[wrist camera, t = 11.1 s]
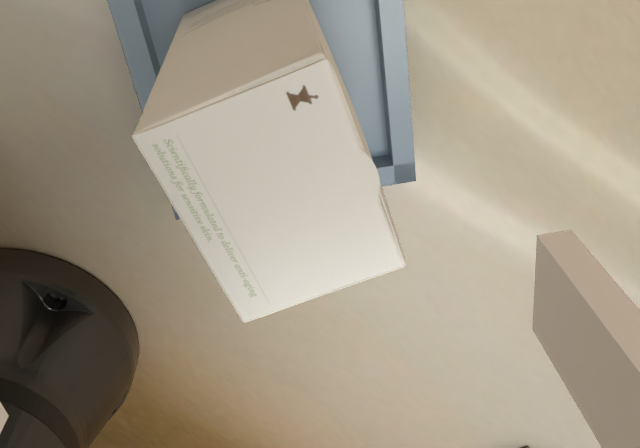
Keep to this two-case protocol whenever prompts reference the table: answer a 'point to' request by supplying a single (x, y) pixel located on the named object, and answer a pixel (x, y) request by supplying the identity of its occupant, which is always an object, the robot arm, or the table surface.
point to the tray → (347, 50)
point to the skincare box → (266, 156)
